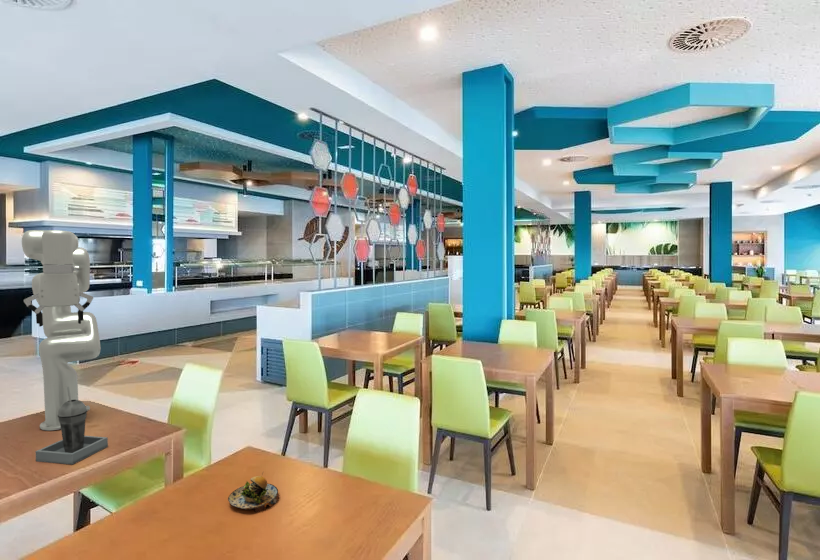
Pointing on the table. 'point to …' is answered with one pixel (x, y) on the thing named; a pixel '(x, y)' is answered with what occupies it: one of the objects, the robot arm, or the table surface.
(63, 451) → the tray
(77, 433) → the beverage cup
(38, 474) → the table surface
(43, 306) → the robot arm
